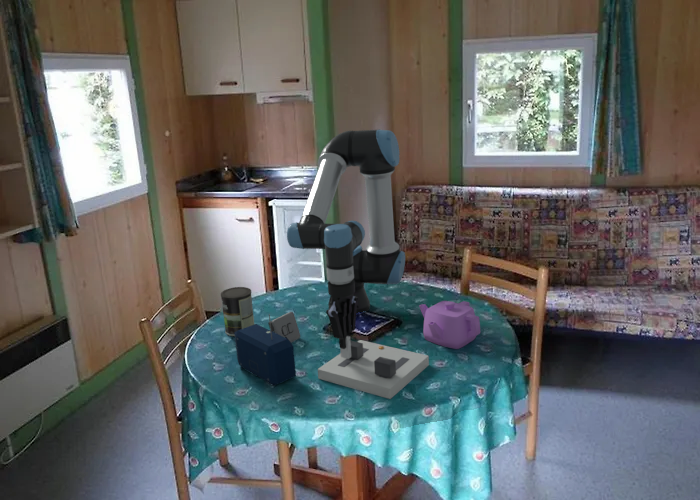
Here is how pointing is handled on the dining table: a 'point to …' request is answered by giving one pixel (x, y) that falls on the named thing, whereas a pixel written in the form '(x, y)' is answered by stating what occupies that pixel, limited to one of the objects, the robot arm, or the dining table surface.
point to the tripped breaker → (356, 350)
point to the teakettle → (450, 324)
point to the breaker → (385, 367)
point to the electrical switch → (286, 326)
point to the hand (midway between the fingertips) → (346, 356)
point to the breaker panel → (363, 370)
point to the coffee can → (237, 309)
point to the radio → (265, 354)
